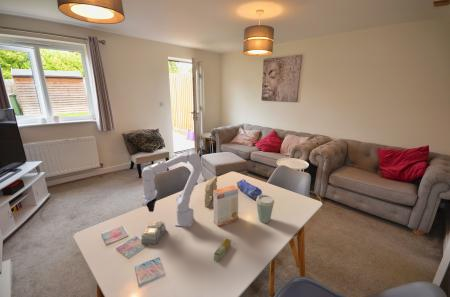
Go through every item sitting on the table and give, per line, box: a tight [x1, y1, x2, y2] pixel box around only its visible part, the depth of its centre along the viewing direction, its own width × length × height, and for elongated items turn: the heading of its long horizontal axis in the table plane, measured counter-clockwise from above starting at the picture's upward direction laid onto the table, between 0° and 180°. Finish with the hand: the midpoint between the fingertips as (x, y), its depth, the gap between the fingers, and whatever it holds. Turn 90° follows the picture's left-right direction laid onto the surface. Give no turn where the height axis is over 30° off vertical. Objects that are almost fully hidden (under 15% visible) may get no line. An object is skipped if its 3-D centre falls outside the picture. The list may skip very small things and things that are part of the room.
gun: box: [204, 175, 218, 208], centre depth 146 cm, size 24×3×15 cm, turn 168°
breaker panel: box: [140, 221, 166, 245], centre depth 107 cm, size 8×12×5 cm, turn 174°
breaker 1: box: [148, 220, 163, 227], centre depth 110 cm, size 6×3×2 cm, turn 85°
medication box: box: [213, 237, 231, 263], centre depth 96 cm, size 12×3×4 cm, turn 152°
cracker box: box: [212, 185, 239, 227], centre depth 119 cm, size 14×6×21 cm, turn 119°
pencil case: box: [236, 179, 263, 201], centre depth 154 cm, size 22×9×10 cm, turn 30°
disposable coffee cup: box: [255, 194, 275, 224], centre depth 120 cm, size 11×11×15 cm
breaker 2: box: [143, 228, 158, 235], centre depth 104 cm, size 6×3×2 cm, turn 85°
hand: (151, 211), depth 112 cm, fingers closed
